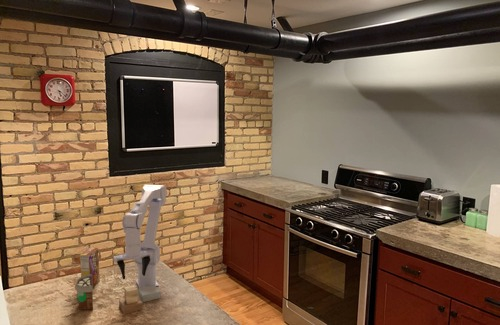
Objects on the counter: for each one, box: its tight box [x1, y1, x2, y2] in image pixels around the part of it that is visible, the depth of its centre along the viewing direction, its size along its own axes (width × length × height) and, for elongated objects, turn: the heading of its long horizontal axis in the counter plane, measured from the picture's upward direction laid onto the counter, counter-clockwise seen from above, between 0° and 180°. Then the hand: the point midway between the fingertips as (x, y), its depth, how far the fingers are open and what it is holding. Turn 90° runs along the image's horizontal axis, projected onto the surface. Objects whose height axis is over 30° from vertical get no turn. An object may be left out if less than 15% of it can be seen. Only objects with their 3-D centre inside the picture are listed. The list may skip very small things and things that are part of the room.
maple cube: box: [123, 285, 139, 304], centre depth 144 cm, size 4×4×5 cm
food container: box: [74, 274, 94, 312], centre depth 144 cm, size 12×6×10 cm, turn 23°
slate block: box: [137, 285, 161, 303], centre depth 153 cm, size 7×7×3 cm
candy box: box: [79, 247, 101, 289], centre depth 162 cm, size 9×4×15 cm, turn 177°
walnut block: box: [118, 296, 143, 314], centre depth 144 cm, size 7×7×3 cm
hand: (133, 276), depth 149 cm, fingers open, 7 cm apart
